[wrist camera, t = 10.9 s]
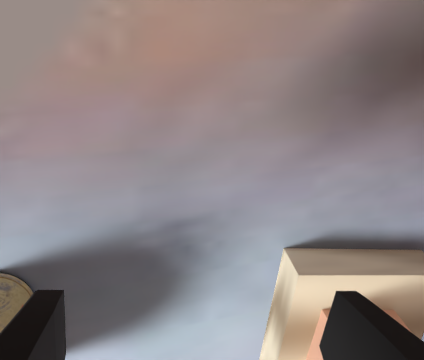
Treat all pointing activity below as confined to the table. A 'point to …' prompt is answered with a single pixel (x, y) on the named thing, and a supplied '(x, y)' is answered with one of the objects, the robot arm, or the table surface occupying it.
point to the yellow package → (11, 297)
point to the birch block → (339, 281)
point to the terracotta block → (314, 353)
